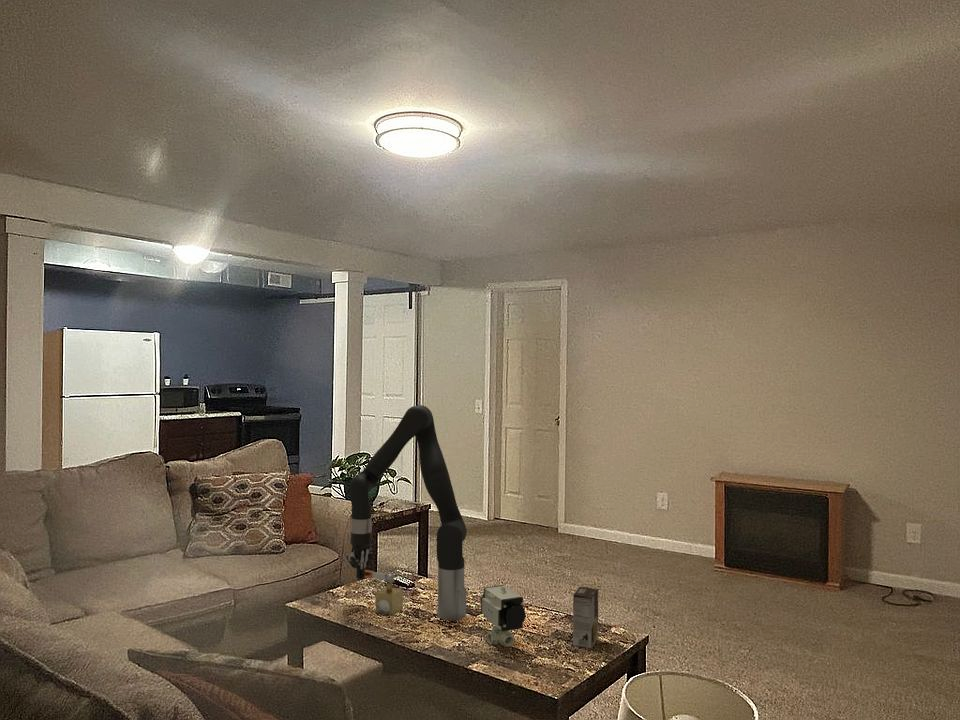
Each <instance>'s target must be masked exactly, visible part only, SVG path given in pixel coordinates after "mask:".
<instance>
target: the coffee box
mask: <svg viewBox="0 0 960 720" xmlns="http://www.w3.org/2000/svg"><path fill="white" fill-rule="evenodd" d="M572 596H573V598H572V599H573V600H572V601H573V605H572V607H573V609H572V610H573V611H572V613H573V615H572V645H573V646H577V647H582V648H588V649H592V648H593V647H594V645H595V643H596V642H597V640H598V639H599V589H598V588H592V587H587V586H586V587H585V586H579V587H578V589H577V590H576V591H575V592H574V593H573V595H572Z"/></svg>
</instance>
